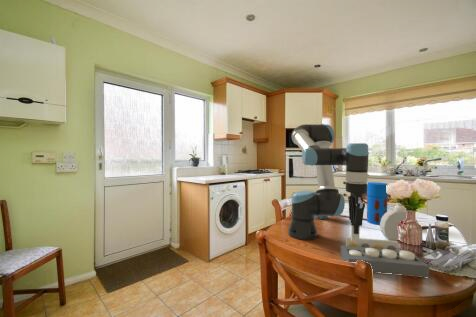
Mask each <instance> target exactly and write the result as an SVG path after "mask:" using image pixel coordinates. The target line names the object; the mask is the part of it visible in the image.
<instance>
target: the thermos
mask: <svg viewBox="0 0 476 317" xmlns="http://www.w3.org/2000/svg"><path fill="white" fill-rule="evenodd" d="M386 185H387V186H388V183H385V182H376V181H375V182H374V181H373V182H372V181H371V182H367V193H366V194H367V195H366V222H367V223H369V224H371V225H376V226H380V222H381V218H382V217H383V215H384V214H385V213H386V212H388V194H387V193H386Z"/></svg>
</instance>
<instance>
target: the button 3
mask: <svg viewBox="0 0 476 317" xmlns="http://www.w3.org/2000/svg"><path fill="white" fill-rule="evenodd" d="M382 256H383V257H384V258H391V259H396V257H397V253H396V252H395V251H393V250H389V249H383V250H382Z"/></svg>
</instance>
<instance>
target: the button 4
mask: <svg viewBox="0 0 476 317" xmlns="http://www.w3.org/2000/svg"><path fill="white" fill-rule="evenodd" d="M400 250H401V249H400ZM409 251H410V250H403V249H402V250H401V251H399V257H400V258H402V259H403V260H413V261H414V260H415V253H413V252H412V251H410V252H409Z"/></svg>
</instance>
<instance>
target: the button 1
mask: <svg viewBox="0 0 476 317" xmlns="http://www.w3.org/2000/svg"><path fill="white" fill-rule="evenodd" d="M349 254H350V255H357V256H362V253H361V252H360V251H357V250H349Z"/></svg>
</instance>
